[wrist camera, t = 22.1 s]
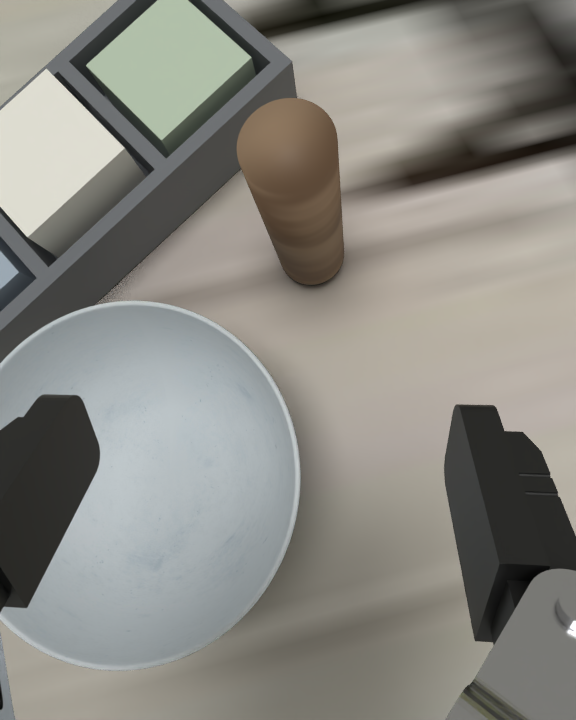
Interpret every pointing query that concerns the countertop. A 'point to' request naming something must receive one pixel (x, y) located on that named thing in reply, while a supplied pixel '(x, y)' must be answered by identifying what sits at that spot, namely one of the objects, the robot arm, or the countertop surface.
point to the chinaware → (157, 484)
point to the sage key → (171, 72)
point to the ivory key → (59, 165)
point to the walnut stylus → (296, 185)
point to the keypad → (163, 176)
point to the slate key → (12, 275)
